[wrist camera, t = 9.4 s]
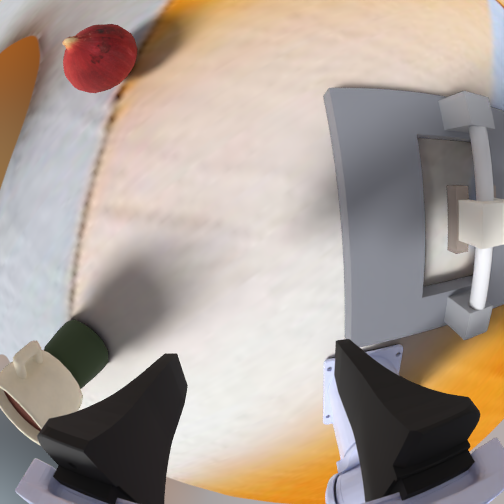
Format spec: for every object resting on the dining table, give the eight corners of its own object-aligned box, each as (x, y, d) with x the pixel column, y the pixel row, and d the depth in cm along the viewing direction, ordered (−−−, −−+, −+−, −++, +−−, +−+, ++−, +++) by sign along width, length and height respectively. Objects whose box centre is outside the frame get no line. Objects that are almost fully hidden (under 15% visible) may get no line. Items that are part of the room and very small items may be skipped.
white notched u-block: (486, 242, 17) (516, 253, 13) (447, 249, 17) (478, 264, 13) (486, 184, 16) (518, 188, 12) (446, 185, 16) (480, 188, 12)
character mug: (61, 287, 23) (-27, 346, 10) (116, 313, 23) (33, 398, 10) (67, 364, 26) (9, 428, 13) (114, 388, 26) (64, 468, 13)
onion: (142, 34, 17) (100, -9, 9) (158, 79, 18) (111, 39, 10) (90, 67, 17) (37, 40, 10) (101, 113, 19) (41, 94, 11)
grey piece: (507, 292, 21) (536, 310, 15) (344, 336, 22) (362, 375, 17) (505, 116, 16) (539, 111, 11) (323, 96, 18) (342, 69, 12)
